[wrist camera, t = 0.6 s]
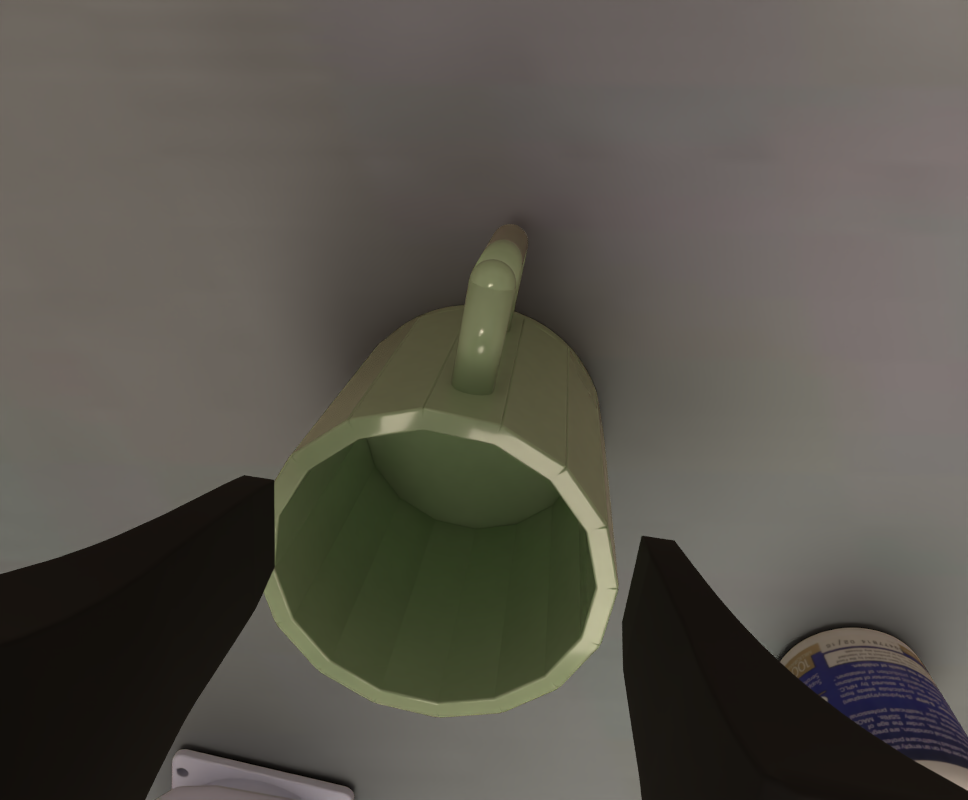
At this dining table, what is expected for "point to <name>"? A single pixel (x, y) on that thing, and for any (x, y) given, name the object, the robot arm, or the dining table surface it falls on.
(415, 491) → the mug
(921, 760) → the pill bottle
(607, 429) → the dining table surface
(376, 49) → the dining table surface
